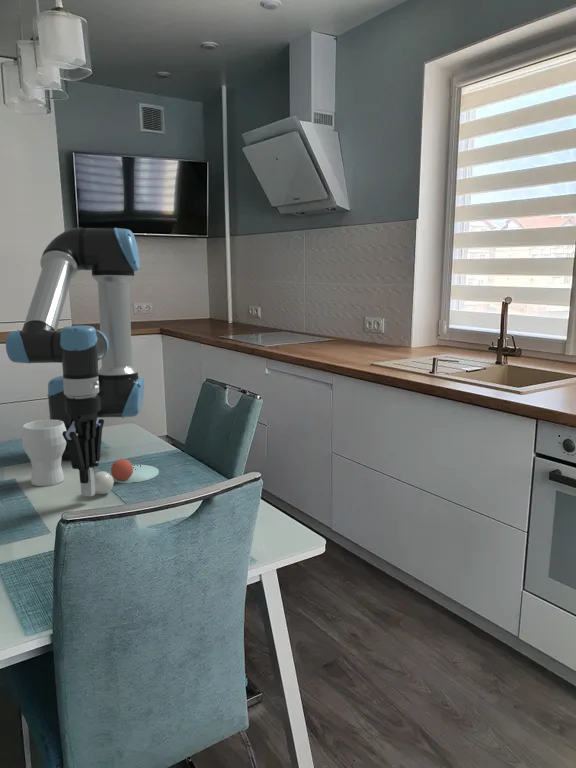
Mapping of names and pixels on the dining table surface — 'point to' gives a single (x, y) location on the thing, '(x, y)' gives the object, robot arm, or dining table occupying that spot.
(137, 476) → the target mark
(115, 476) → the object ball
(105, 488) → the cue ball
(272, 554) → the dining table surface
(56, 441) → the cup
